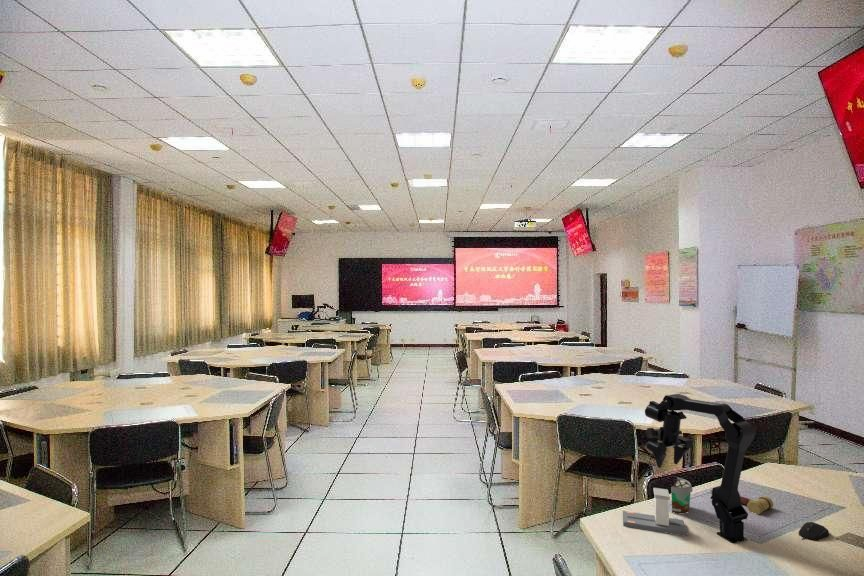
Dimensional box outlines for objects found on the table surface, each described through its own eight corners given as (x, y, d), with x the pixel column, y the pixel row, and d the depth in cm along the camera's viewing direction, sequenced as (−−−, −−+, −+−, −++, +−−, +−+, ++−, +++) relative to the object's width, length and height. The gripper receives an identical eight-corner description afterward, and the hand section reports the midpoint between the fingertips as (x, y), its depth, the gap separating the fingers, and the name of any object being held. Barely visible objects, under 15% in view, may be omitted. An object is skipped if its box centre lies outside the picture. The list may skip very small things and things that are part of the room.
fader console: (683, 524, 167) (683, 519, 167) (687, 536, 159) (687, 531, 159) (622, 514, 175) (622, 510, 175) (623, 525, 166) (623, 521, 166)
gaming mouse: (789, 537, 159) (789, 525, 159) (811, 527, 166) (811, 516, 166) (811, 546, 154) (811, 534, 154) (833, 535, 161) (833, 523, 161)
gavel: (703, 487, 192) (716, 482, 197) (703, 499, 192) (717, 494, 197) (759, 503, 174) (773, 498, 179) (760, 516, 174) (774, 510, 179)
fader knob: (667, 518, 168) (667, 489, 168) (669, 526, 162) (669, 496, 162) (653, 516, 170) (653, 487, 170) (655, 524, 164) (655, 494, 164)
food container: (689, 518, 172) (689, 490, 172) (671, 513, 176) (671, 486, 176) (695, 506, 182) (694, 480, 182) (677, 502, 185) (677, 476, 186)
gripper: (669, 416, 191) (666, 453, 192) (636, 421, 183) (632, 460, 184) (695, 426, 181) (690, 465, 182) (661, 432, 173) (656, 473, 174)
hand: (667, 465), depth 181 cm, fingers open, 9 cm apart
